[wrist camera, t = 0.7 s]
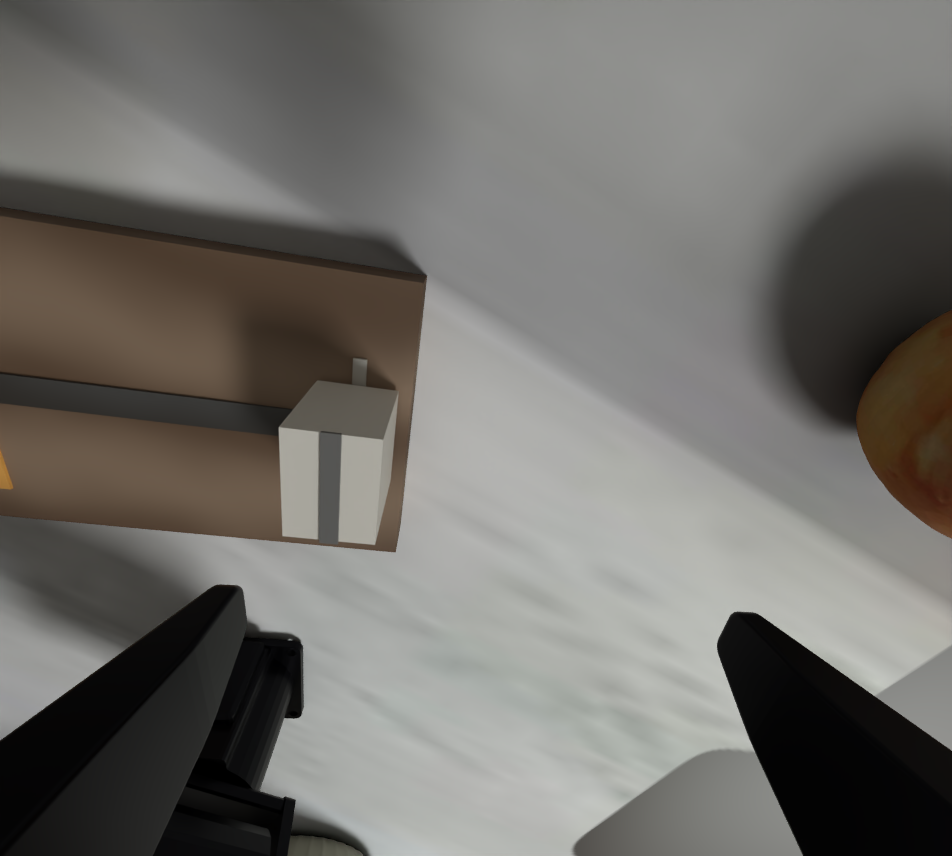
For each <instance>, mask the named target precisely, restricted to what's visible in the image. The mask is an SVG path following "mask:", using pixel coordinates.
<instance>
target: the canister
mask: <svg viewBox="0 0 952 856" xmlns="http://www.w3.org/2000/svg"><path fill="white" fill-rule="evenodd" d="M288 856H364V855H363V854H362V853H361V852H360V851H358V850H355V849H354V848H353V847H351V846H348V845H345V843H342V842H337V841H335V840H333V839H326V838H324V837H314V836H303V835H299V836H290V842H289V849H288Z"/></svg>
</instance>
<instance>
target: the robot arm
mask: <svg viewBox="0 0 952 856" xmlns="http://www.w3.org/2000/svg"><path fill="white" fill-rule="evenodd" d="M246 626H247V616H246V608H245V601H244V594H243V590H242V588H241V587H240V586H237V585H215V586H213V587H211V588H210V589H208V590H207V591H206V592H204V593H203V594H202V595H200V596H199V597H197V598H196V599H195V600H193V601H192V602H191V603H189V604H188V605H186V606H185V607H184V608H182V609H181V610H179V611H178V612H177V613H175V614H174V615H173V616H171V617H170V618H168V619H167V620H166V621H164V622H163V623H162V624H160V625H159V626H157V627H156V628H155V629H153V630H152V631H151V632H149V633H148V634H146V635H145V636H144V637H142V638H141V639H139V640H138V641H137V642H135V643H134V644H133V645H131V646H130V647H128V648H127V649H126V650H124V651H123V652H122V653H120V654H119V655H117V656H116V657H115V658H113V659H112V660H111V661H109V662H108V663H106V664H105V665H104V666H102V667H101V668H99V669H98V670H97V671H95V672H94V673H93V674H91V675H90V676H88V677H87V678H86V679H84V680H83V681H82V682H80V683H79V684H77V685H76V686H75V687H73V688H72V689H71V690H69V691H68V692H66V693H65V694H64V695H62V696H61V697H59V698H58V699H57V700H55V701H54V702H53V703H51V704H50V705H48V706H47V707H46V708H44V709H43V710H42V711H40V712H39V713H37V714H36V715H35V716H33V717H32V718H31V719H29V720H28V721H26V722H25V723H24V724H22V725H21V726H19V727H18V728H17V729H15V730H14V731H13V732H11V733H10V734H8V735H7V736H6V737H4V738H3V739H2V740H0V856H288V849H289V842H290V836H291V829H292V822H293V815H294V808H295V801H296V800H295V799H292V798H288V797H284V798H280V797H277V796H273V795H270V794H267V793H264V792H260V788H261V785H262V782H263V779H264V776H265V773H266V770H267V768H268V765H269V762H270V759H271V756H272V753H273V750H274V747H275V744H276V741H277V738H278V735H279V732H280V729H281V726H282V723H283V720H284V718H293V719H294V718H299V717H300V716H301V714H302V711H303V708H304V694H303V646H302V645H301V643H299V642H296V641H287V640H273V639H259V638H245V637H244V635H245V631H246ZM717 650H718V655H719V658H720V660H721V663H722V666H723V669H724V671H725V674H726V677H727V680H728V682H729V685H730V688H731V691H732V693H733V696H734V699H735V702H736V704H737V707H738V710H739V713H740V715H741V718H742V721H743V724H744V726H745V729H746V731H747V734H748V736H749V739H750V741H751V744H752V746H753V748H754V750H755V753H756V755H757V757H758V759H759V762H760V764H761V766H762V768H763V770H764V772H765V774H766V777H767V779H768V781H769V783H770V785H771V787H772V790H773V792H774V794H775V796H776V798H777V800H778V803H779V805H780V807H781V809H782V811H783V813H784V816H785V818H786V820H787V822H788V824H789V826H790V828H791V831H792V833H793V835H794V837H795V839H796V841H797V844H798V846H799V848H800V850H801V852H802V854H803V856H952V751H951V750H950V749H948V748H947V747H946V746H944V745H943V744H941V743H940V742H938V741H937V740H936V739H934V738H933V737H931V736H930V735H929V734H927V733H926V732H924V731H923V730H922V729H920V728H919V727H917V726H916V725H914V724H913V723H912V722H910V721H909V720H907V719H906V718H905V717H903V716H902V715H900V714H899V713H898V712H896V711H895V710H893V709H892V708H890V707H889V706H888V705H886V704H884V703H883V702H882V701H881V700H879V699H878V698H876V697H875V696H873V695H872V694H871V693H869V692H868V691H866V690H865V689H864V688H862V687H861V686H859V685H858V684H857V683H855V682H854V681H852V680H851V679H849V678H848V677H847V676H845V675H844V674H842V673H841V672H840V671H838V670H837V669H835V668H834V667H832V666H831V665H830V664H828V663H827V662H825V661H824V660H823V659H821V658H820V657H818V656H817V655H815V654H814V653H813V652H811V651H810V650H808V649H807V648H806V647H804V646H803V645H801V644H800V643H798V642H797V641H796V640H794V639H793V638H791V637H790V636H789V635H787V634H786V633H784V632H783V631H782V630H780V629H779V628H777V627H776V626H774V625H773V624H772V623H770V622H769V621H767V620H766V619H765V618H763V617H762V616H760V615H759V614H756V613H753V612H734V613H733V614H731V615H730V617H729V619H728V621H727V623H726V625H725V627H724V629H723V631H722V633H721V635H720V637H719V639H718V643H717Z"/></svg>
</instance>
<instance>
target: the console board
mask: <svg viewBox="0 0 952 856" xmlns="http://www.w3.org/2000/svg"><path fill="white" fill-rule="evenodd" d="M426 280H427V276H426V275H419V274H413V273H407V272H401V271H394V270H388V269H382V268H376V267H370V266H363V265H357V264H351V263H345V262H338V261H332V260H326V259H320V258H314V257H307V256H301V255H295V254H289V253H282V252H276V251H270V250H264V249H257V248H251V247H245V246H239V245H233V244H226V243H220V242H214V241H208V240H201V239H195V238H189V237H183V236H176V235H170V234H164V233H158V232H152V231H145V230H139V229H133V228H127V227H120V226H114V225H108V224H102V223H95V222H89V221H83V220H77V219H71V218H64V217H58V216H52V215H46V214H39V213H33V212H27V211H21V210H15V209H8V208H2V207H0V515H1V516H12V517H23V518H34V519H44V520H55V521H66V522H76V523H87V524H98V525H109V526H119V527H130V528H141V529H151V530H162V531H173V532H183V533H194V534H205V535H216V536H226V537H237V538H248V539H258V540H269V541H280V542H291V543H301V544H312V545H323V546H333V547H344V548H355V549H365V550H376V551H387V552H396V547H397V541H398V536H399V530H400V524H401V515H402V505H403V496H404V486H405V477H406V468H407V458H408V449H409V440H410V430H411V421H412V412H413V402H414V393H415V383H416V374H417V365H418V355H419V346H420V337H421V327H422V318H423V309H424V299H425V290H426ZM317 380H319V381H327V382H334V383H342V384H350V385H357V386H365V387H372V388H380V389H387V390H395V391H399V393H398V404H397V415H396V427H395V438H394V449H393V460H392V471H391V481H390V485H389V489H388V493H387V497H386V502H385V506H384V510H383V514H382V518H381V522H380V526H379V531H378V535H377V539H376V543H375V545H370V544H360V543H349V542H339V541H338V545H336V544H325V543H319V540H318V539H307V538H297V537H286V536H282V509H281V481H280V452H279V426H280V425H281V424H282V422H283V421H284V420H285V419H286V418H287V416H288V415H289V414H290V413H291V412H292V410H293V409H294V408H295V407H296V405H297V404H298V403H299V402H300V401H301V399H302V398H303V397H304V396H305V395H306V393H307V392H308V391H309V390H310V388H311V387H312V386H313V385H314V384H315V382H316V381H317Z"/></svg>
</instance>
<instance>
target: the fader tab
mask: <svg viewBox="0 0 952 856" xmlns="http://www.w3.org/2000/svg"><path fill="white" fill-rule="evenodd" d="M398 393H399V391H395V390H387V389H380V388H372V387H365V386H357V385H350V384H342V383H334V382H327V381H319V380H317V381H316V382H315V384H314V385H313V386H312V387H311V388H310V390H309V391H308V392H307V393H306V395H305V396H304V397H303V398H302V399H301V401H300V402H299V403H298V404H297V405H296V407H295V408H294V409H293V410H292V412H291V413H290V414H289V415H288V416H287V418H286V419H285V420H284V421H283V422H282V424H281V425H280V426H279V452H280V481H281V509H282V536H286V537H297V538H307V539H318V540H319V543H325V544H336V545H338V541H339V542H349V543H360V544H370V545H375V543H376V539H377V535H378V531H379V526H380V522H381V518H382V514H383V510H384V506H385V502H386V497H387V493H388V489H389V485H390V481H391V471H392V460H393V449H394V438H395V427H396V415H397V404H398Z"/></svg>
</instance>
